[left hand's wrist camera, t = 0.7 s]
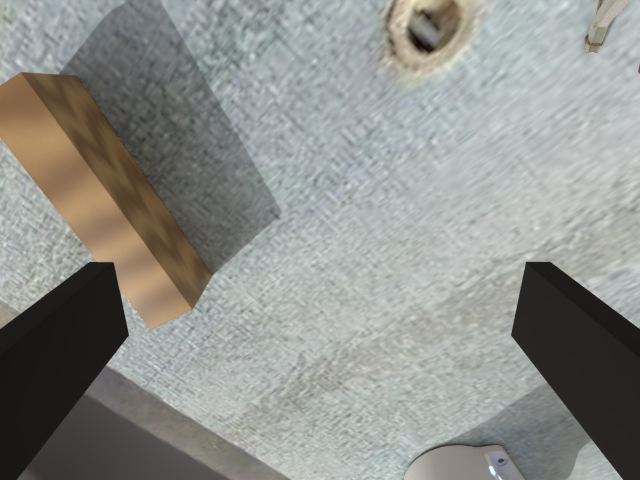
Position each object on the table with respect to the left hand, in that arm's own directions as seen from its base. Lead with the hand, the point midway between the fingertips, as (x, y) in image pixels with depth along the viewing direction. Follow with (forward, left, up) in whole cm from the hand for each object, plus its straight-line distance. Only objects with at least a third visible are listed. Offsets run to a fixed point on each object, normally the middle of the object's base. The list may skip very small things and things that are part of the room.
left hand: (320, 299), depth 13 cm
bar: (+5, -21, -31) cm, 38 cm away
